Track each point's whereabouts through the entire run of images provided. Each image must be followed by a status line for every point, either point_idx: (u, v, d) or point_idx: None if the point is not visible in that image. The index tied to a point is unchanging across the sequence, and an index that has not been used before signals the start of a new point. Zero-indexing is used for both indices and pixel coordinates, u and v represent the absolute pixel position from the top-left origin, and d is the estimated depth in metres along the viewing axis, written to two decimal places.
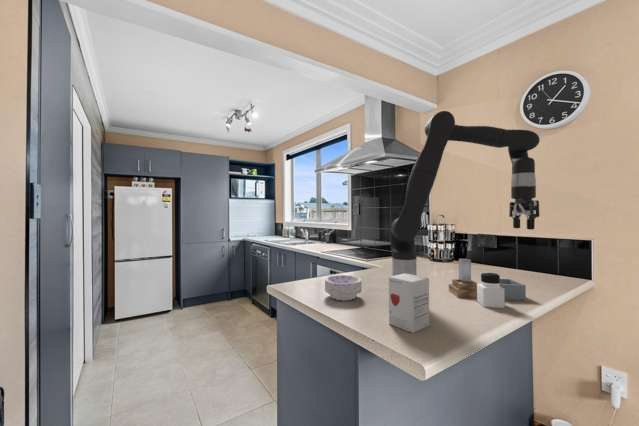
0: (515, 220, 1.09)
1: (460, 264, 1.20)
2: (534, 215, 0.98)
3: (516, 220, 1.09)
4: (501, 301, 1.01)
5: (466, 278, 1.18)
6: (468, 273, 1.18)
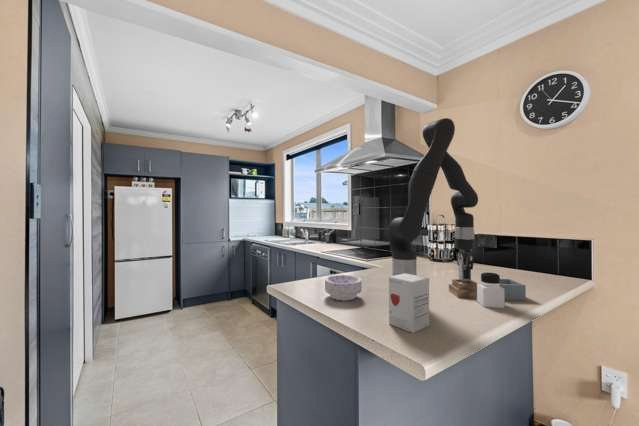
0: None
1: (460, 264, 1.20)
2: (468, 268, 1.15)
3: None
4: (501, 301, 1.01)
5: None
6: None
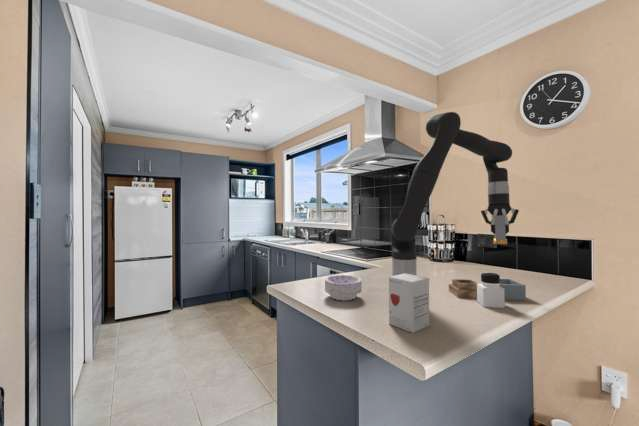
0: (494, 226, 1.17)
1: (500, 220, 1.16)
2: (513, 221, 1.15)
3: (494, 226, 1.18)
4: (501, 301, 1.01)
5: None
6: None
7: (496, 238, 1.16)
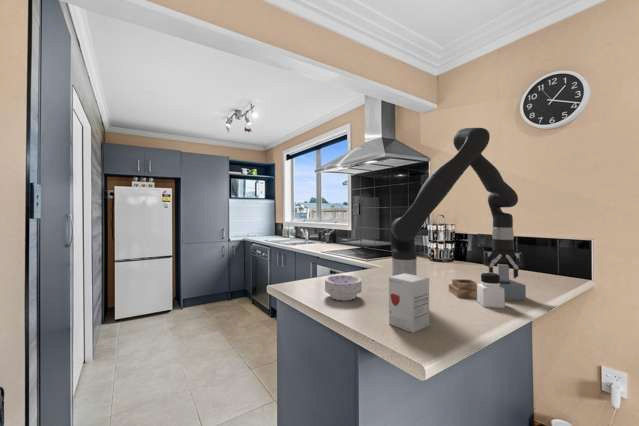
0: (492, 269, 1.18)
1: (504, 271, 1.15)
2: None
3: (492, 269, 1.18)
4: (501, 301, 1.01)
5: None
6: None
7: None
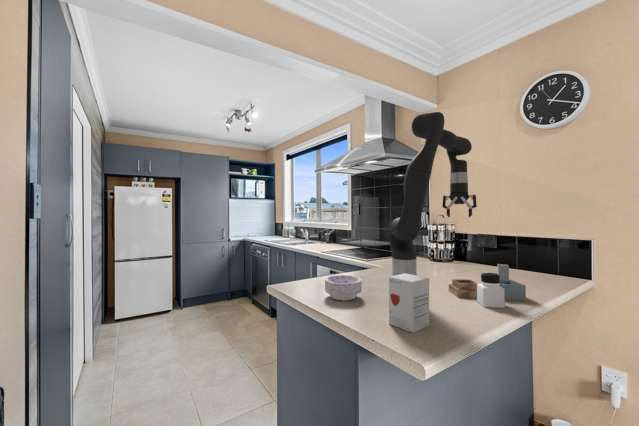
0: (449, 210, 1.32)
1: (504, 271, 1.15)
2: None
3: (449, 210, 1.32)
4: (501, 301, 1.01)
5: None
6: None
7: None
